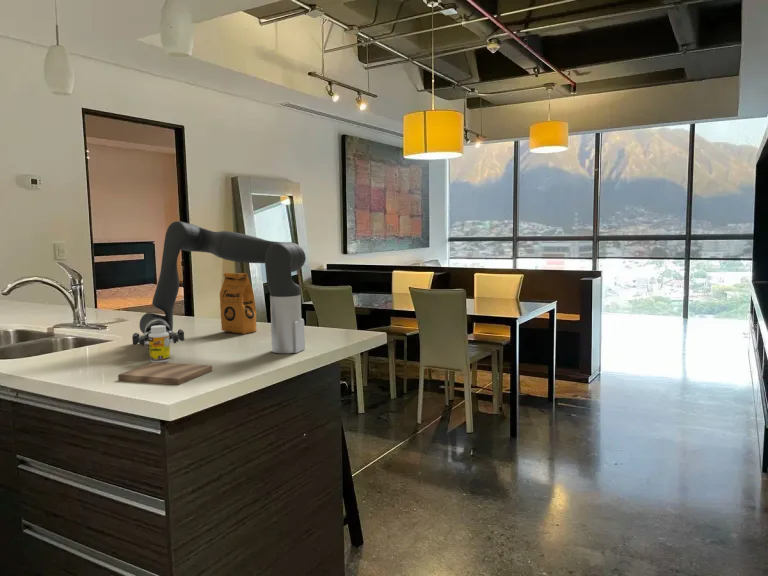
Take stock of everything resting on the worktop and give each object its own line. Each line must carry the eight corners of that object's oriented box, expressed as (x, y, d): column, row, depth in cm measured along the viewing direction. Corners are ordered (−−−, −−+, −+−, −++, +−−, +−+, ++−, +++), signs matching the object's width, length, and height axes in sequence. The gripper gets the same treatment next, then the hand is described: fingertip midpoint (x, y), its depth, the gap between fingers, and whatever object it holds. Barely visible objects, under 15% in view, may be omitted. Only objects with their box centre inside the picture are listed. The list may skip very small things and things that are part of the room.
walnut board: (212, 371, 154) (212, 365, 154) (179, 384, 141) (178, 378, 141) (155, 367, 160) (155, 362, 160) (118, 380, 146) (118, 374, 146)
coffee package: (241, 335, 206) (238, 274, 204) (217, 332, 213) (214, 273, 211) (261, 331, 215) (259, 272, 212) (238, 328, 222) (235, 271, 219)
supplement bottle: (145, 362, 166) (143, 327, 165) (158, 358, 171) (156, 324, 170) (162, 363, 164) (159, 328, 163) (174, 359, 169) (172, 324, 168)
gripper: (132, 322, 178) (131, 330, 163) (181, 318, 184) (184, 326, 169) (133, 346, 179) (133, 356, 164) (182, 342, 184) (186, 351, 169)
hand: (159, 341), depth 166 cm, fingers open, 8 cm apart
